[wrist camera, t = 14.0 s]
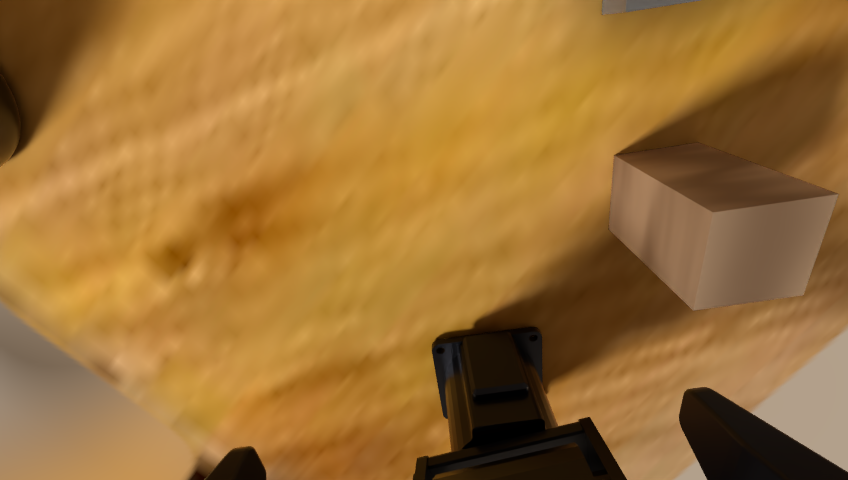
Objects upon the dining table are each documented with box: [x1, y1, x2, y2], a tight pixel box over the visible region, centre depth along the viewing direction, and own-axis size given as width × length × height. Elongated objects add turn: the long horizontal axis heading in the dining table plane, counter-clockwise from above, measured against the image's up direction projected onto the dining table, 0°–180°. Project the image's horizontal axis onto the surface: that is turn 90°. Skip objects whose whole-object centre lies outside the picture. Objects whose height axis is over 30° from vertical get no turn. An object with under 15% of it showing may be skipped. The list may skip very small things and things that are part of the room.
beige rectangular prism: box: [609, 143, 839, 311], centre depth 17 cm, size 4×4×7 cm
